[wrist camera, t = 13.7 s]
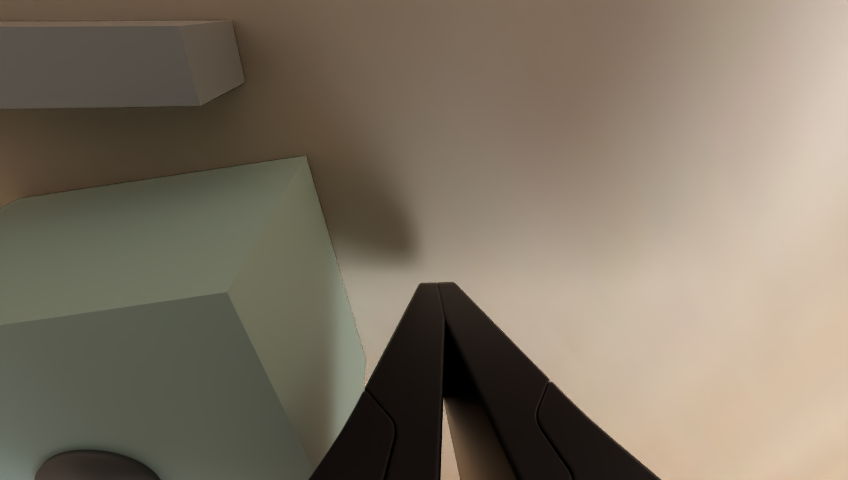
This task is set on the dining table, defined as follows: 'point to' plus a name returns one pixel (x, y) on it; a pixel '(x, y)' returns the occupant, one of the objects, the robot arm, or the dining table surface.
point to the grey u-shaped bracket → (116, 63)
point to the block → (174, 330)
